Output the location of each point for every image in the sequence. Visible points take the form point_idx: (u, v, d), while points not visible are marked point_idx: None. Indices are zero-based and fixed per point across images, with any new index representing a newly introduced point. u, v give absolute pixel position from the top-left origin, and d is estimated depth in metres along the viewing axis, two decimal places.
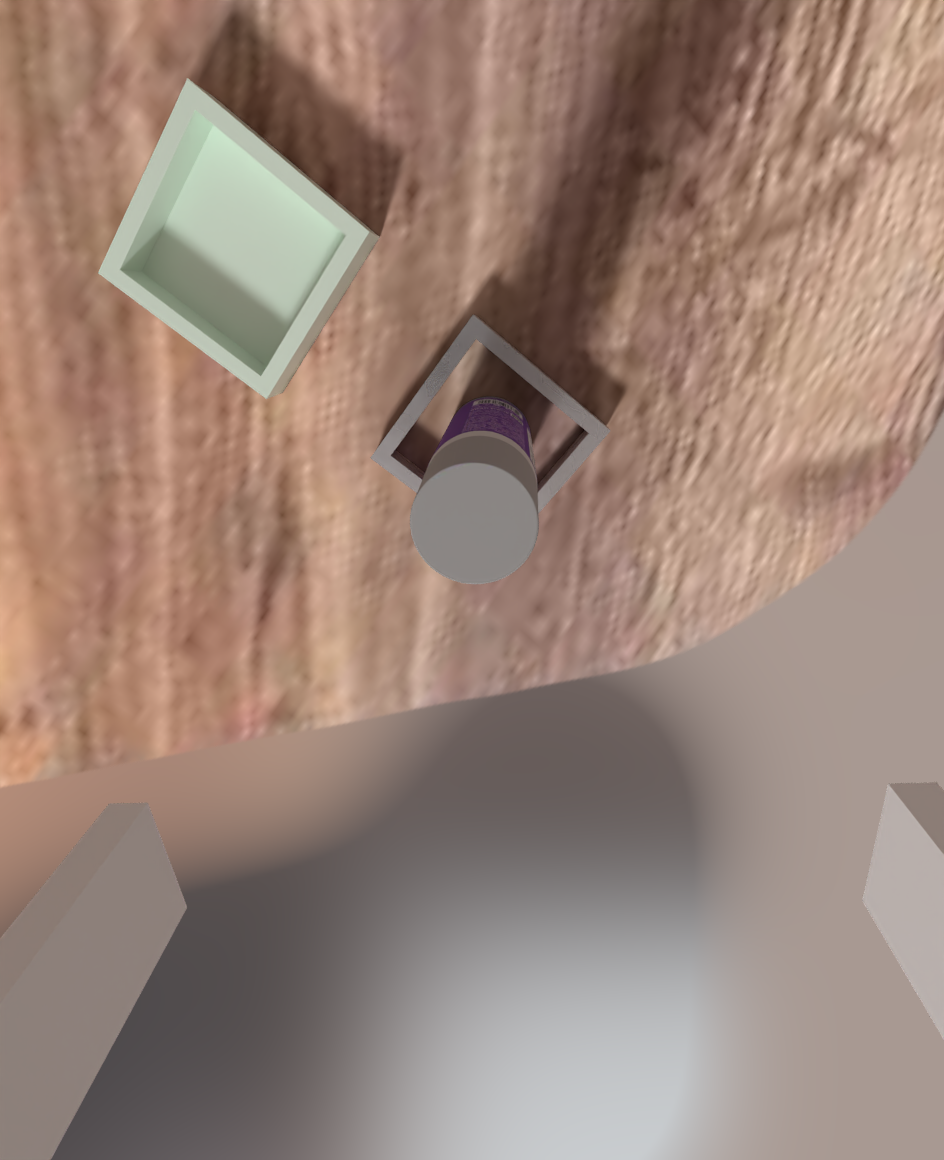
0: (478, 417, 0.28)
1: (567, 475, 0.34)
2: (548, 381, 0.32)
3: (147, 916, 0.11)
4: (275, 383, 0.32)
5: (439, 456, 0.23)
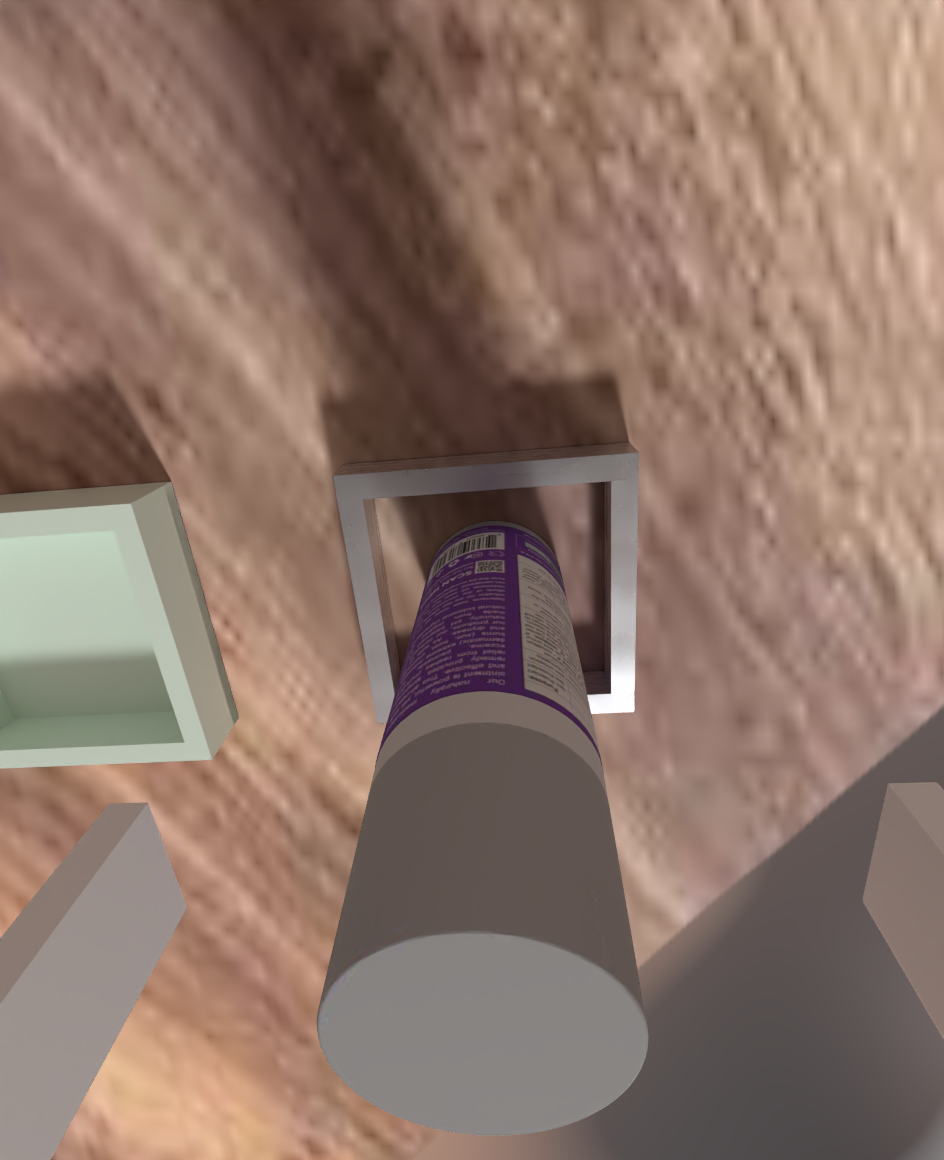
0: (418, 643, 0.15)
1: (631, 554, 0.20)
2: (496, 467, 0.19)
3: (147, 916, 0.11)
4: (204, 737, 0.22)
5: None
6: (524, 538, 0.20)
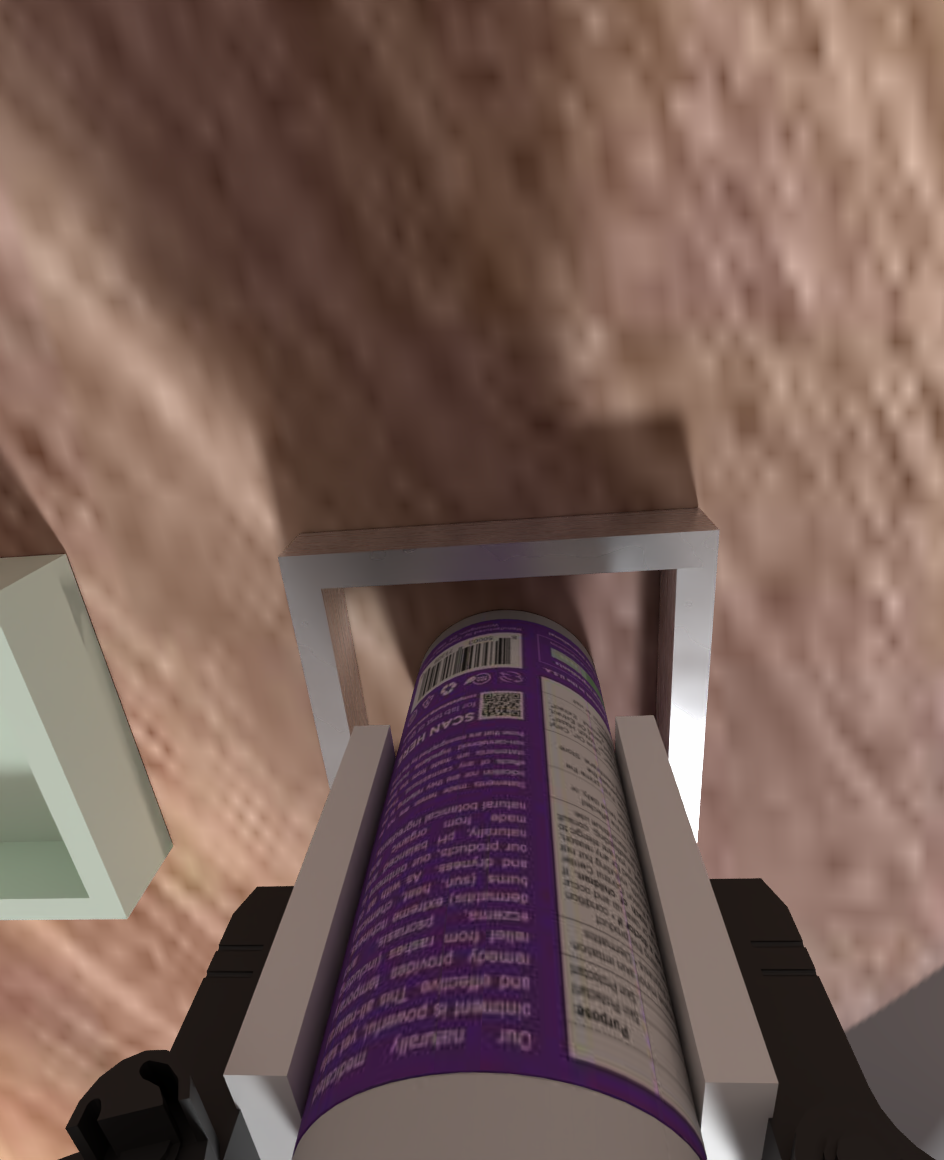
0: (386, 861, 0.09)
1: (701, 667, 0.14)
2: (511, 548, 0.13)
3: None
4: (115, 892, 0.17)
5: None
6: (549, 641, 0.14)
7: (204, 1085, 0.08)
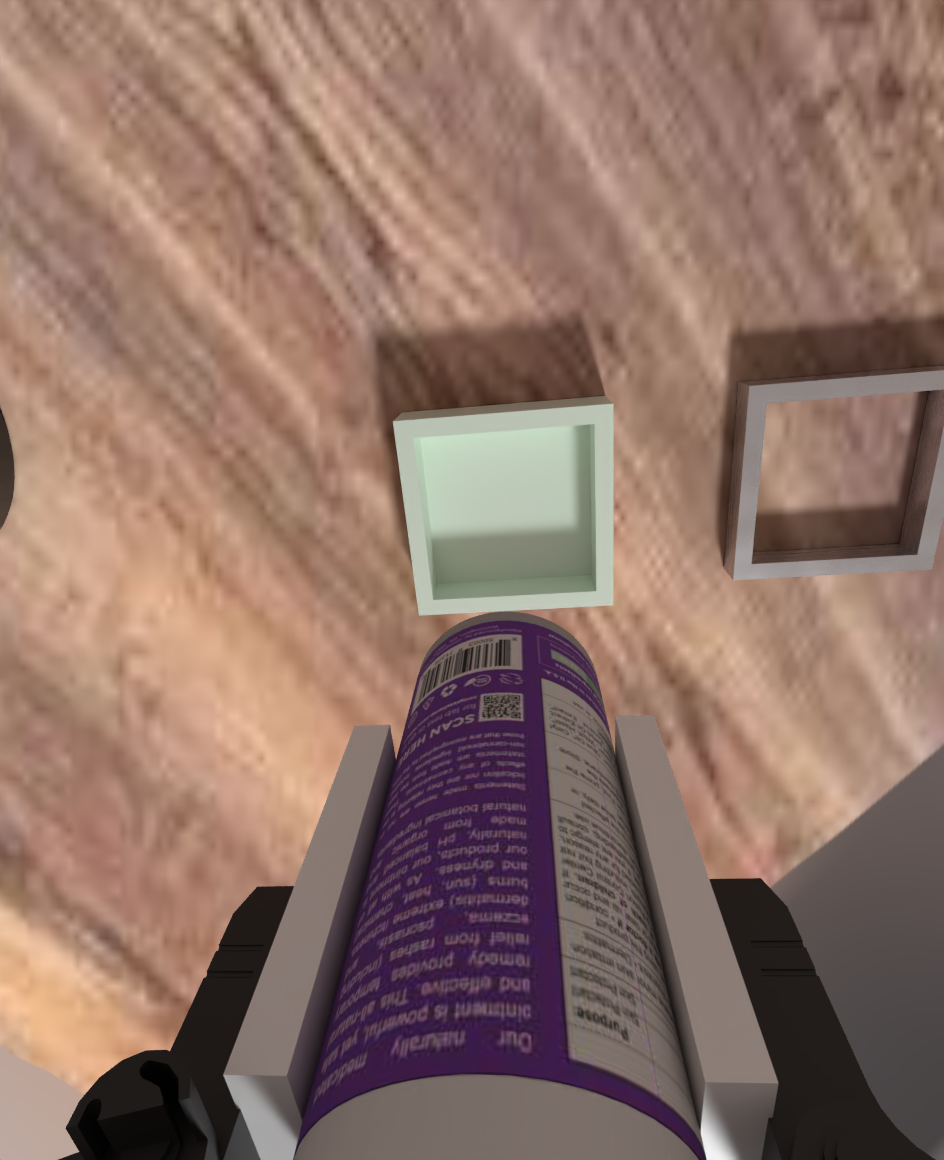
0: (386, 863, 0.09)
1: None
2: (870, 379, 0.27)
3: None
4: (612, 587, 0.30)
5: None
6: (549, 642, 0.14)
7: (204, 1085, 0.08)
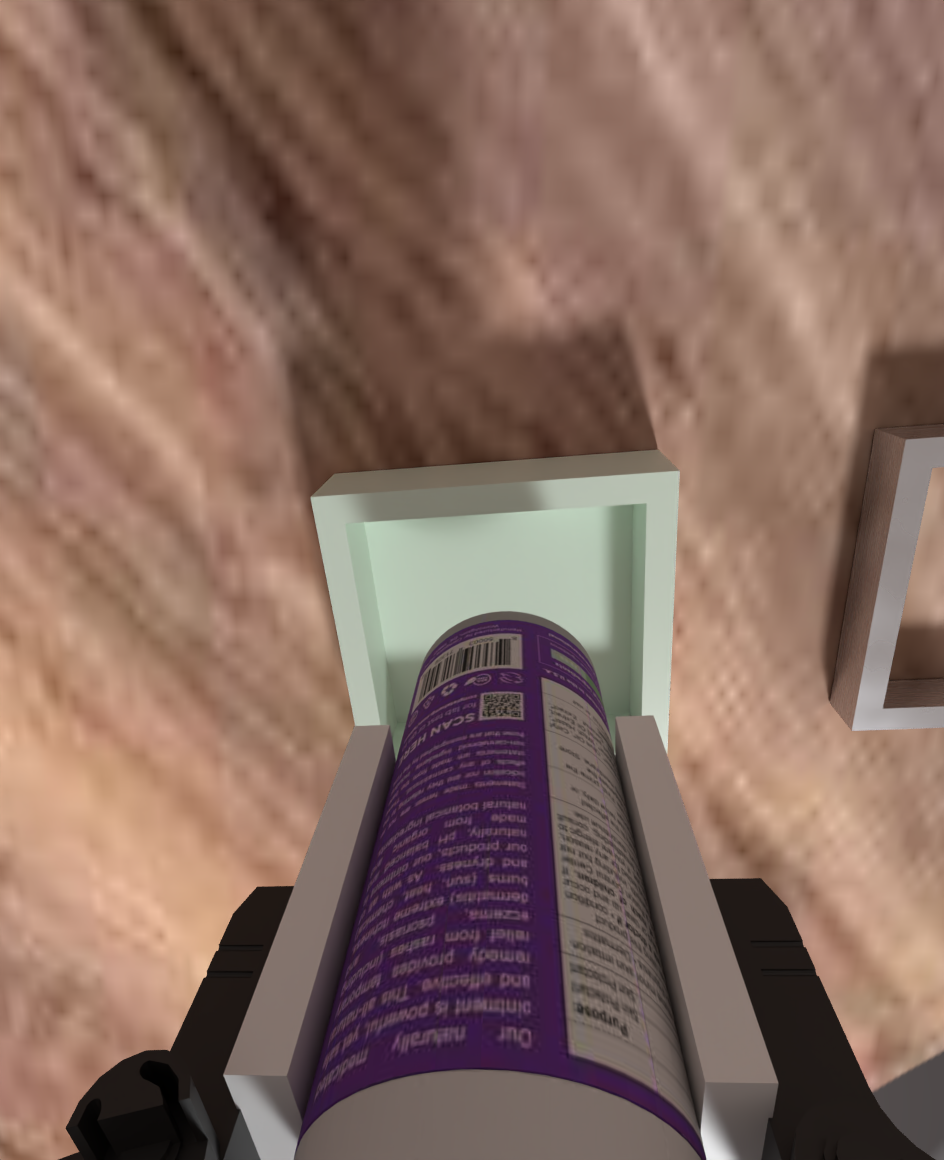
0: (387, 860, 0.09)
1: None
2: None
3: None
4: (666, 746, 0.19)
5: None
6: (549, 642, 0.14)
7: (204, 1085, 0.08)
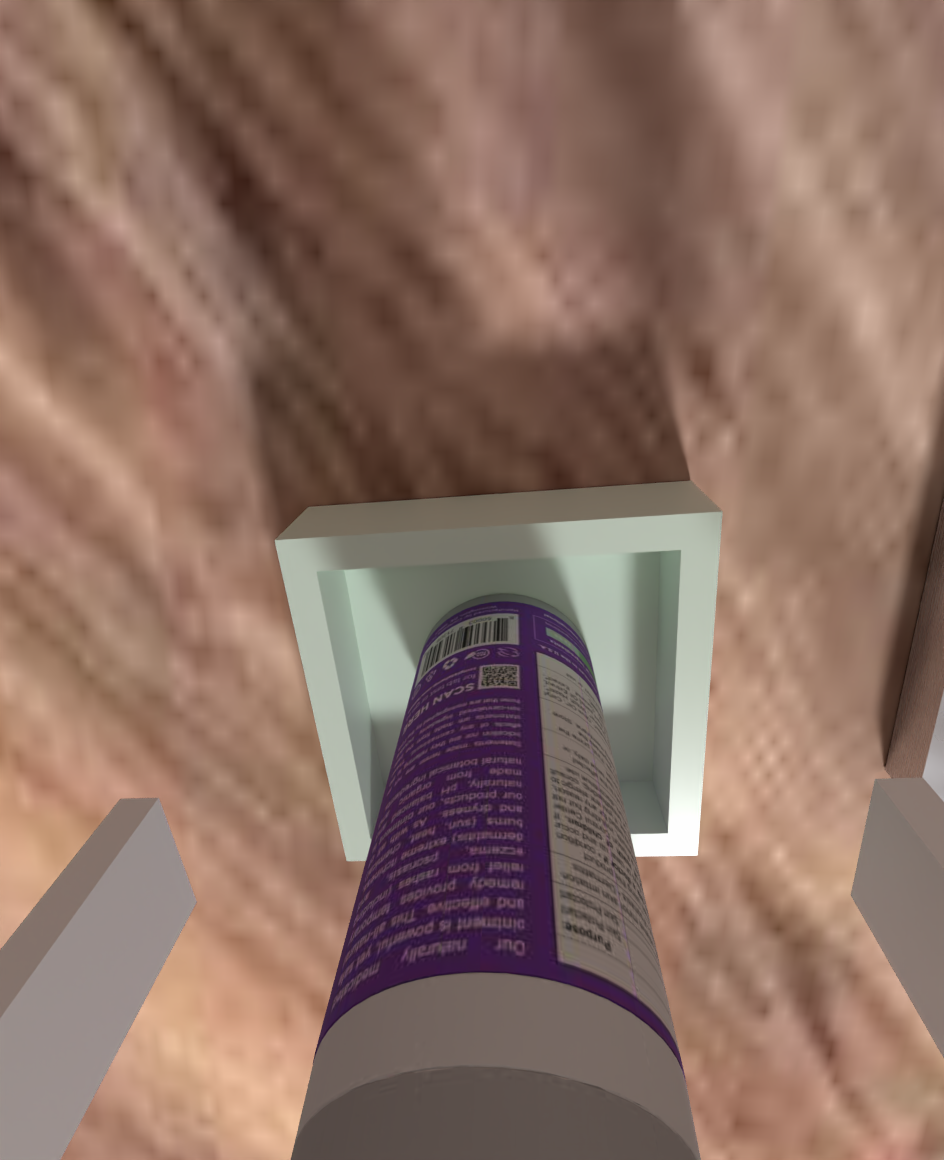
0: (393, 812, 0.10)
1: None
2: None
3: (158, 910, 0.11)
4: (697, 827, 0.16)
5: None
6: (544, 621, 0.15)
7: None
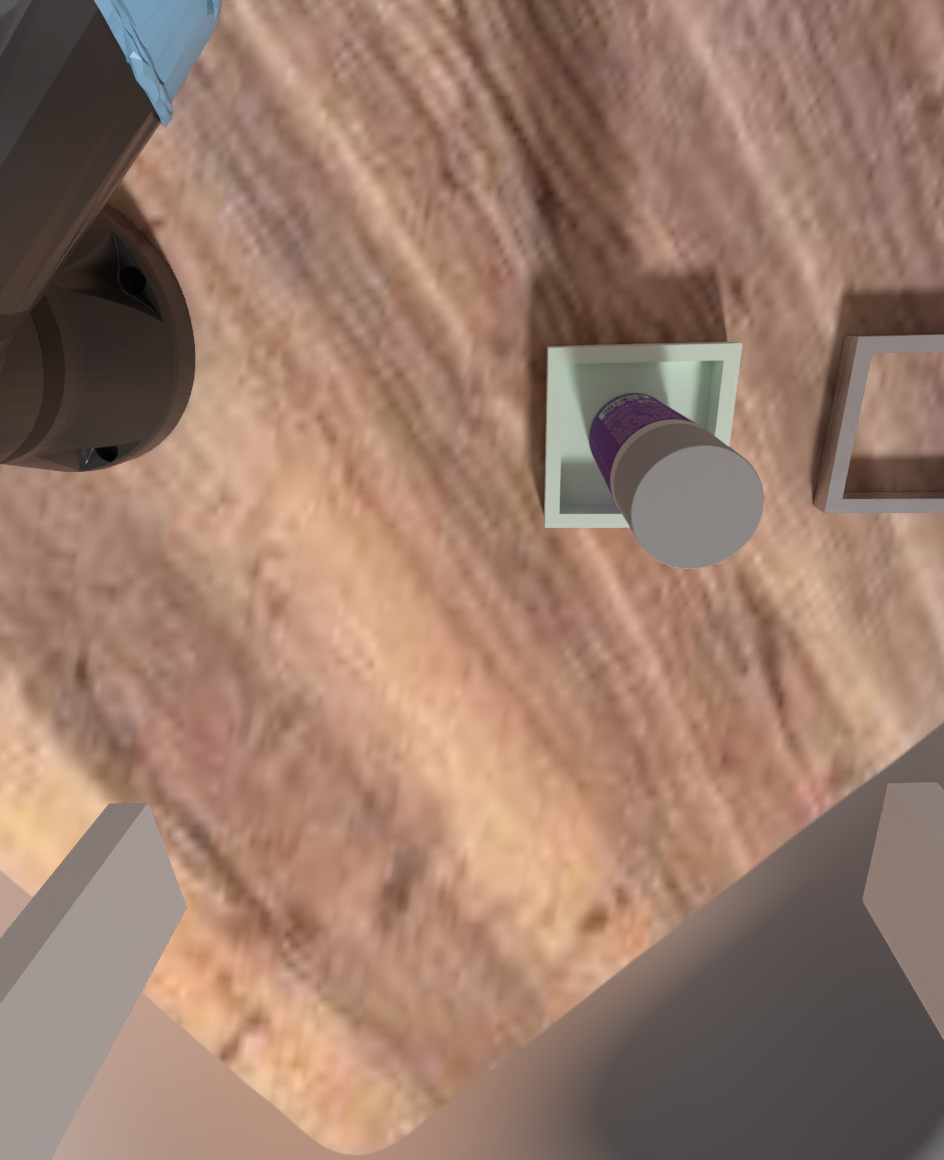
0: (619, 424, 0.28)
1: None
2: None
3: (147, 916, 0.11)
4: None
5: (621, 477, 0.24)
6: None
7: None
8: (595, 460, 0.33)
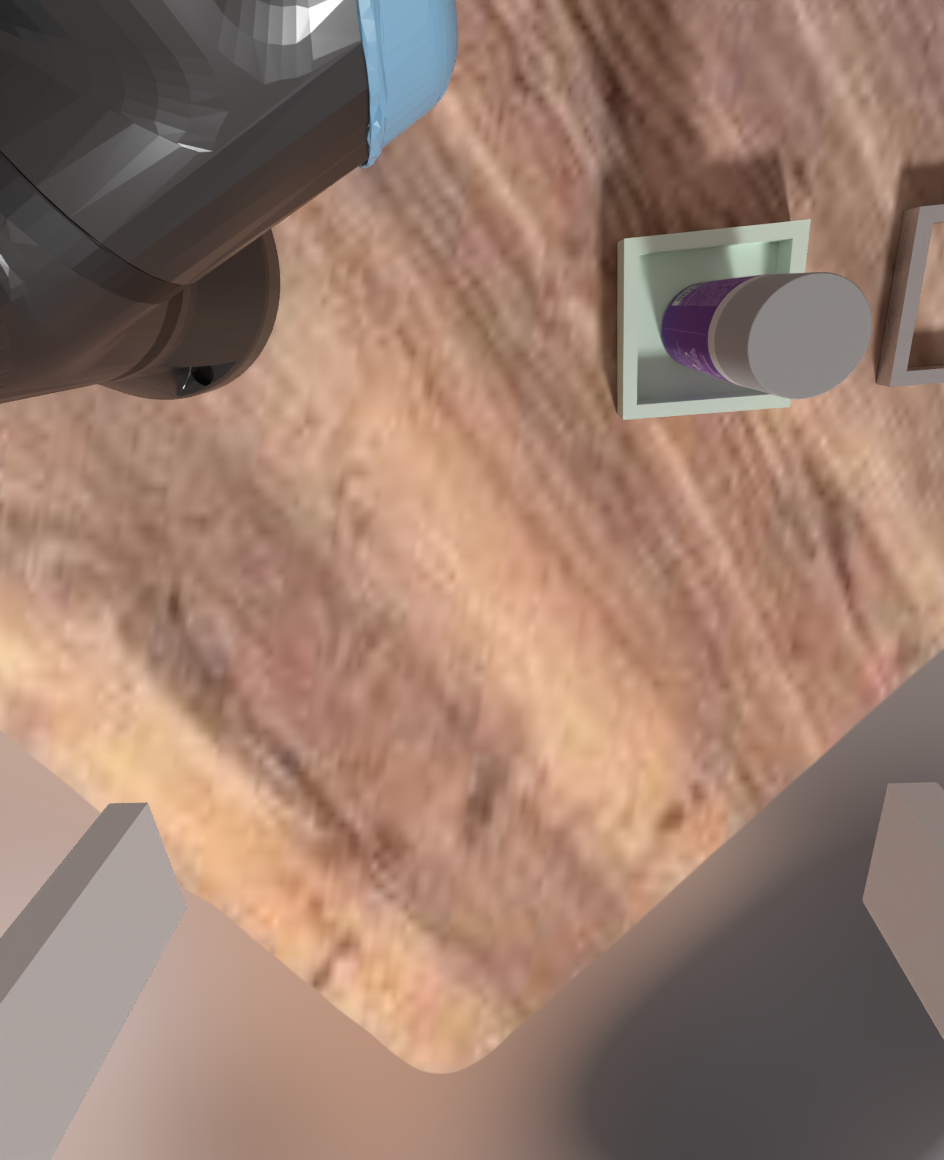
0: (706, 295, 0.30)
1: None
2: None
3: (147, 916, 0.11)
4: None
5: (726, 326, 0.26)
6: None
7: None
8: (673, 345, 0.35)
